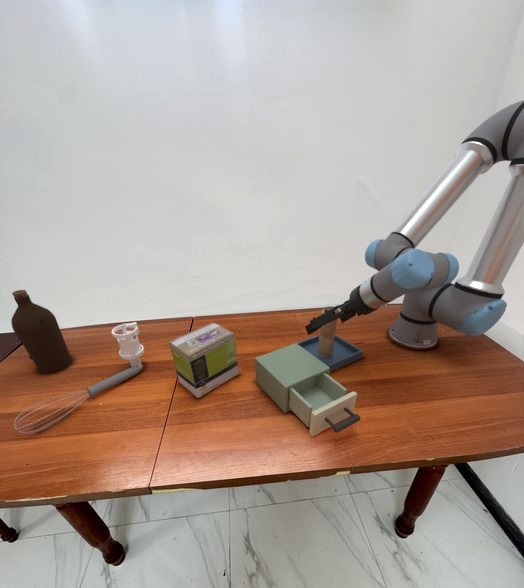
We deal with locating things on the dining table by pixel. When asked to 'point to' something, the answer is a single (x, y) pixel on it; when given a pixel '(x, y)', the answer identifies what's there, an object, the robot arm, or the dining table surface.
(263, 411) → the dining table surface
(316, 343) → the tray
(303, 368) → the cabinet
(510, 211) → the robot arm
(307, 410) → the drawer
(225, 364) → the tea box
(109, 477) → the dining table surface
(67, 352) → the olive oil
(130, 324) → the strainer
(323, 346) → the pepper mill
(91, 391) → the kitchen whisk
